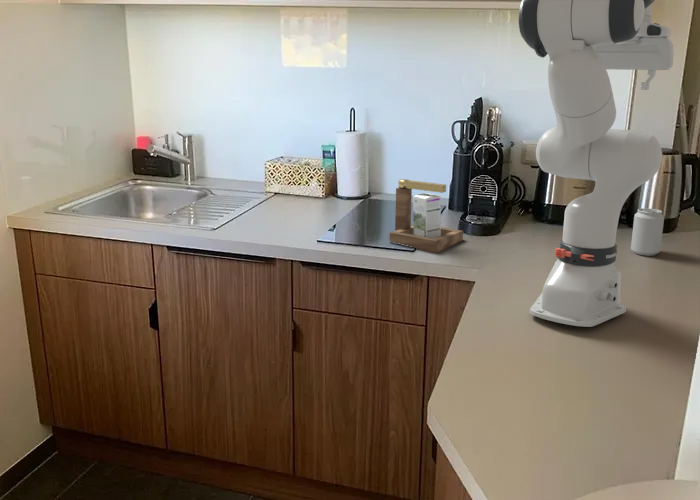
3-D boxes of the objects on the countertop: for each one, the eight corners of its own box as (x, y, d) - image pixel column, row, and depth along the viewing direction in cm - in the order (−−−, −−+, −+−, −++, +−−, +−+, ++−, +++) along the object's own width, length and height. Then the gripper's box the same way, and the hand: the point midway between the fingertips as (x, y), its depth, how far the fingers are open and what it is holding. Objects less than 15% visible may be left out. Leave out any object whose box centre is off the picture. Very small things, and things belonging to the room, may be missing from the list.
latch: (396, 187, 202) (396, 180, 202) (402, 185, 205) (402, 178, 204) (441, 193, 194) (441, 185, 193) (447, 191, 196) (447, 184, 196)
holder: (435, 255, 192) (437, 198, 188) (383, 245, 202) (384, 191, 198) (462, 244, 203) (465, 190, 199) (412, 235, 213) (413, 184, 209)
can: (662, 257, 192) (667, 213, 188) (632, 255, 193) (637, 211, 190) (656, 250, 199) (661, 207, 196) (628, 248, 200) (632, 206, 197)
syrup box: (441, 246, 201) (442, 195, 197) (425, 249, 197) (425, 197, 194) (428, 242, 205) (428, 192, 202) (412, 245, 202) (412, 195, 198)
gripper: (582, 29, 173) (577, 88, 176) (673, 28, 162) (666, 90, 166) (589, 31, 178) (584, 88, 181) (678, 29, 167) (670, 90, 171)
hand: (624, 89), depth 173 cm, fingers open, 8 cm apart
